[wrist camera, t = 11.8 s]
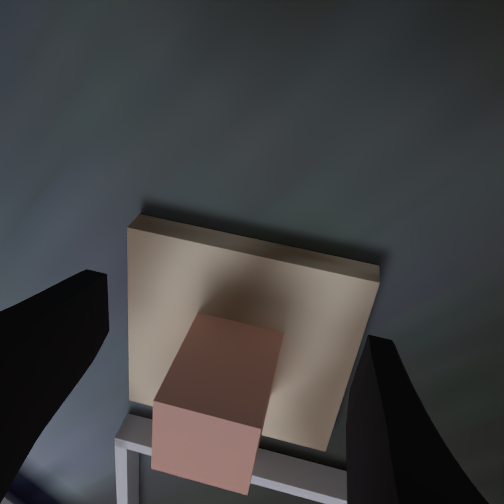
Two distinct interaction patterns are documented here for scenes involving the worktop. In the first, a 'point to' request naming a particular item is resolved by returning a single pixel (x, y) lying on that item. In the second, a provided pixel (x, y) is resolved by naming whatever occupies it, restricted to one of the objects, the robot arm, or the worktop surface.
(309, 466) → the tray
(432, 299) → the worktop surface
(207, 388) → the terracotta block
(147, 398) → the board
